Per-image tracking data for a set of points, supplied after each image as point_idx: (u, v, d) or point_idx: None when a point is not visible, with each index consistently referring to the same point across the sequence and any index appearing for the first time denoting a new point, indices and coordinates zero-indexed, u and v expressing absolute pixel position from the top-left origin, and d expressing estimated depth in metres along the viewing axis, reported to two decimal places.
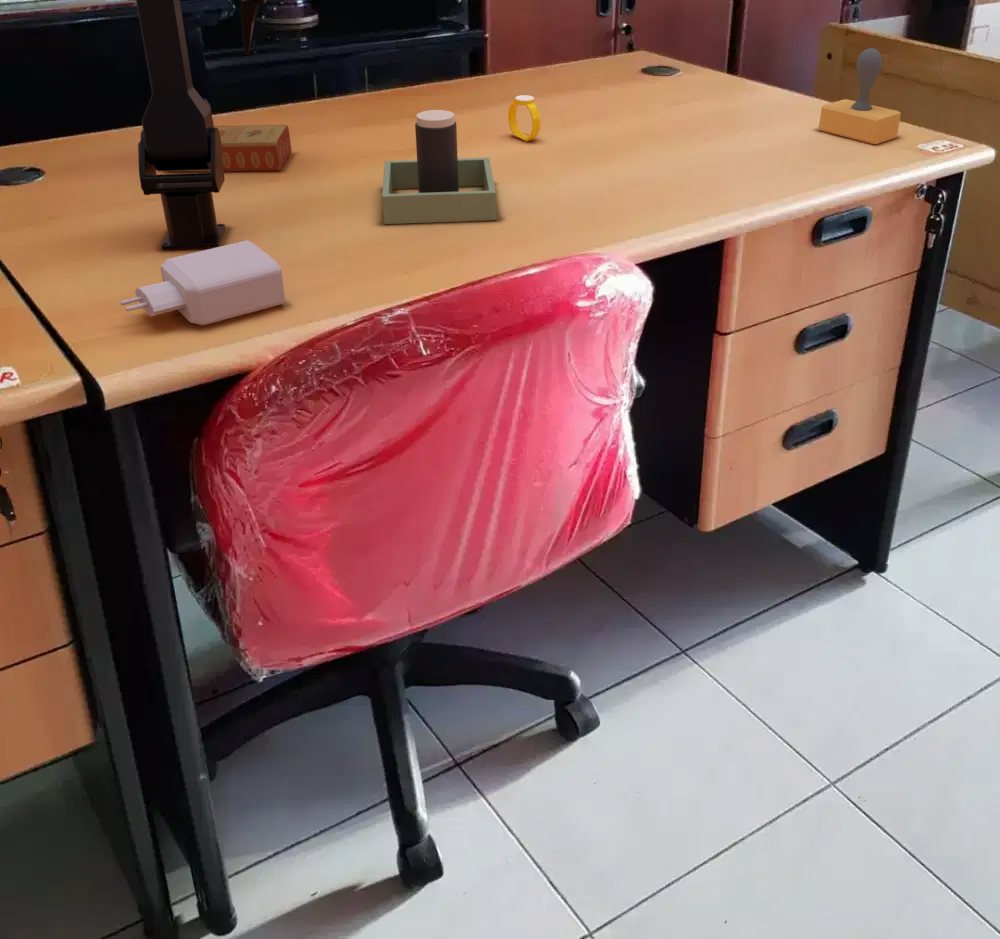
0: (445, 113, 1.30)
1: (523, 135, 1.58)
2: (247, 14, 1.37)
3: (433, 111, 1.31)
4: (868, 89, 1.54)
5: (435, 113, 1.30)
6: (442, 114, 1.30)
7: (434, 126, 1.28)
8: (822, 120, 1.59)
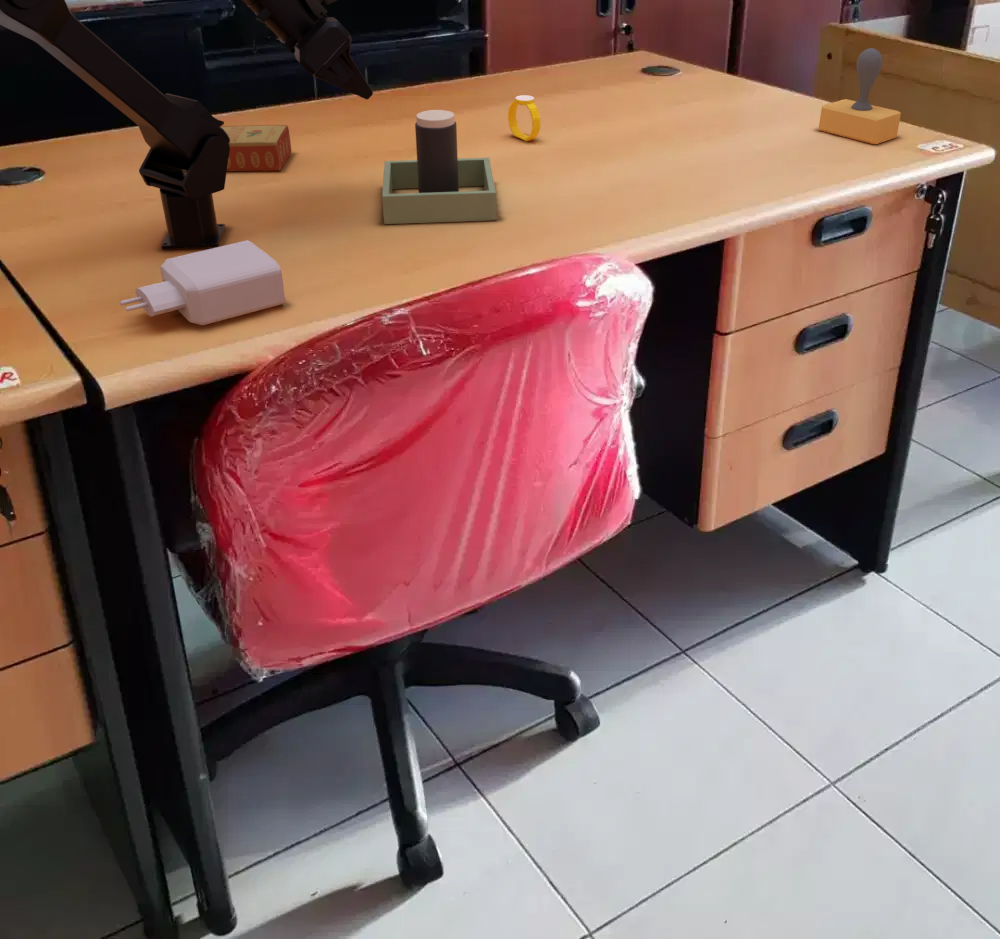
0: (445, 113, 1.30)
1: (523, 135, 1.58)
2: None
3: (433, 111, 1.31)
4: (868, 89, 1.54)
5: (435, 113, 1.30)
6: (442, 114, 1.30)
7: (434, 126, 1.28)
8: (822, 120, 1.59)
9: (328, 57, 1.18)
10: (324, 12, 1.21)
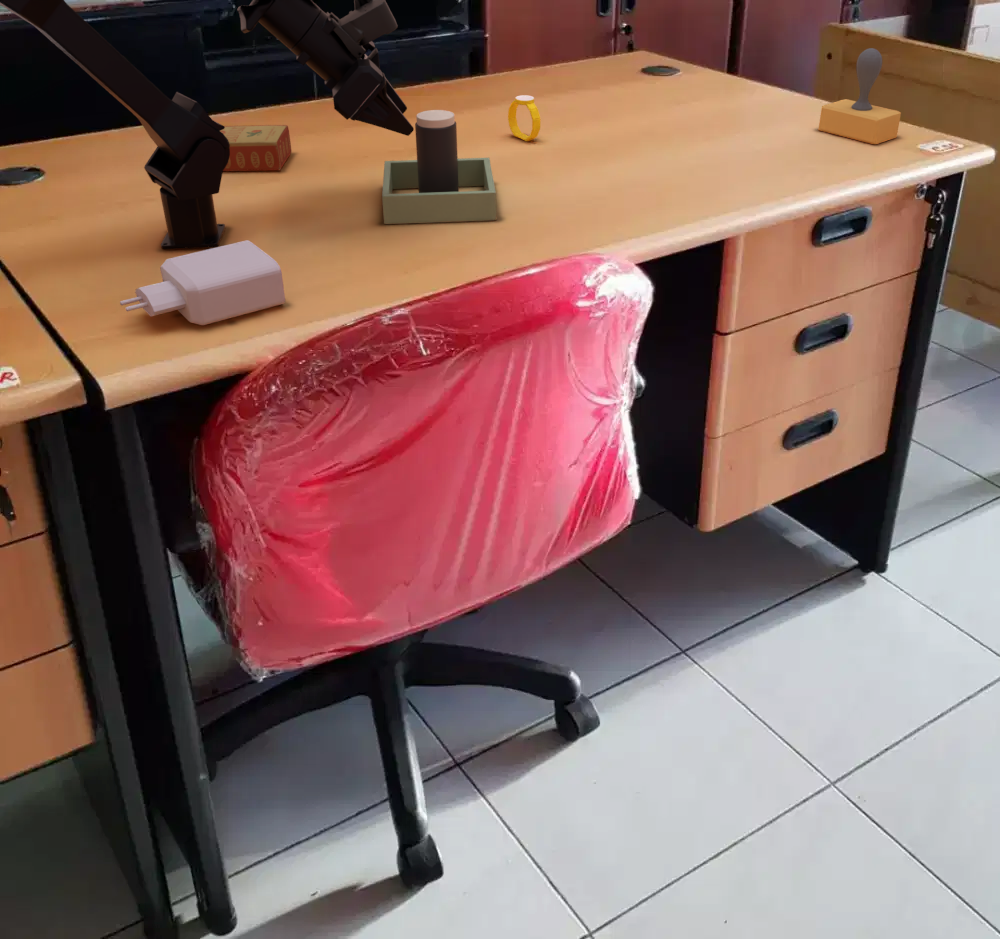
0: (445, 113, 1.30)
1: (523, 135, 1.58)
2: None
3: (433, 111, 1.31)
4: (868, 89, 1.54)
5: (435, 113, 1.30)
6: (442, 114, 1.30)
7: (434, 126, 1.28)
8: (822, 120, 1.59)
9: (361, 101, 1.19)
10: (362, 52, 1.22)
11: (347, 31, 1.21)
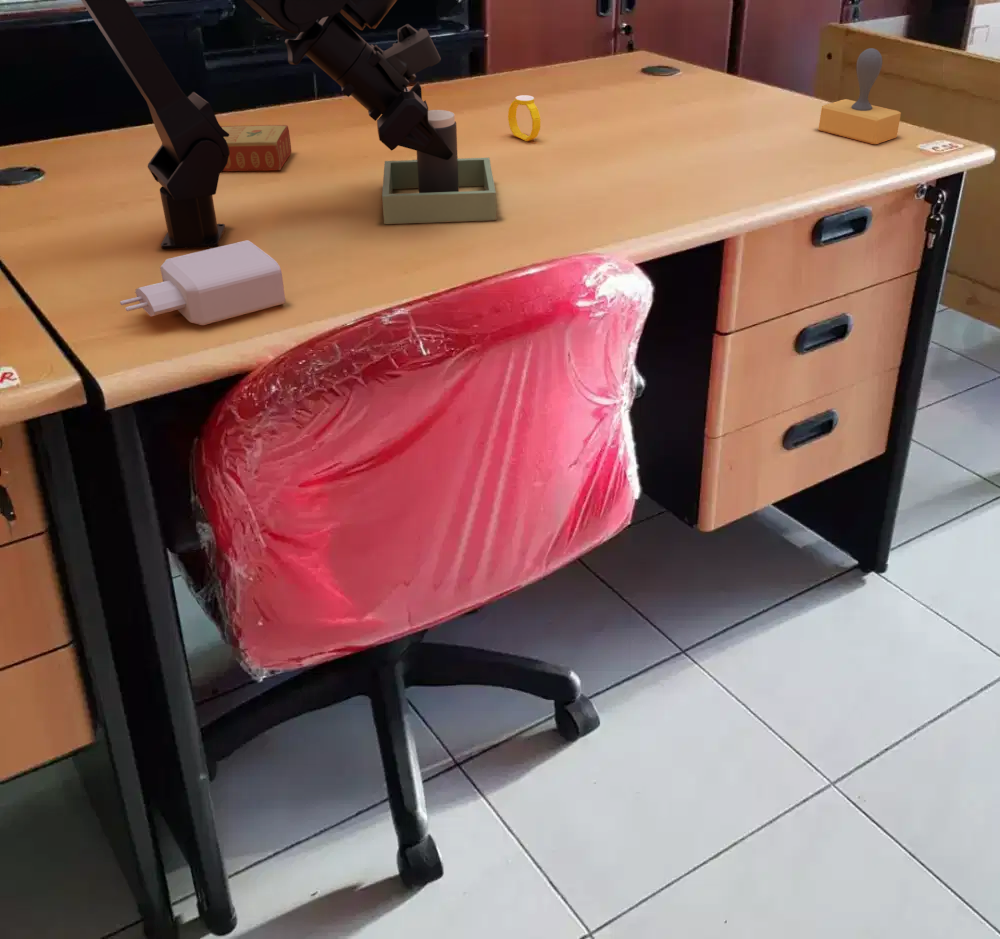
0: (445, 113, 1.30)
1: (523, 135, 1.58)
2: None
3: (433, 111, 1.31)
4: (868, 89, 1.54)
5: (435, 113, 1.30)
6: (442, 114, 1.30)
7: (434, 126, 1.28)
8: (822, 120, 1.59)
9: (406, 133, 1.21)
10: (406, 84, 1.24)
11: (392, 64, 1.24)
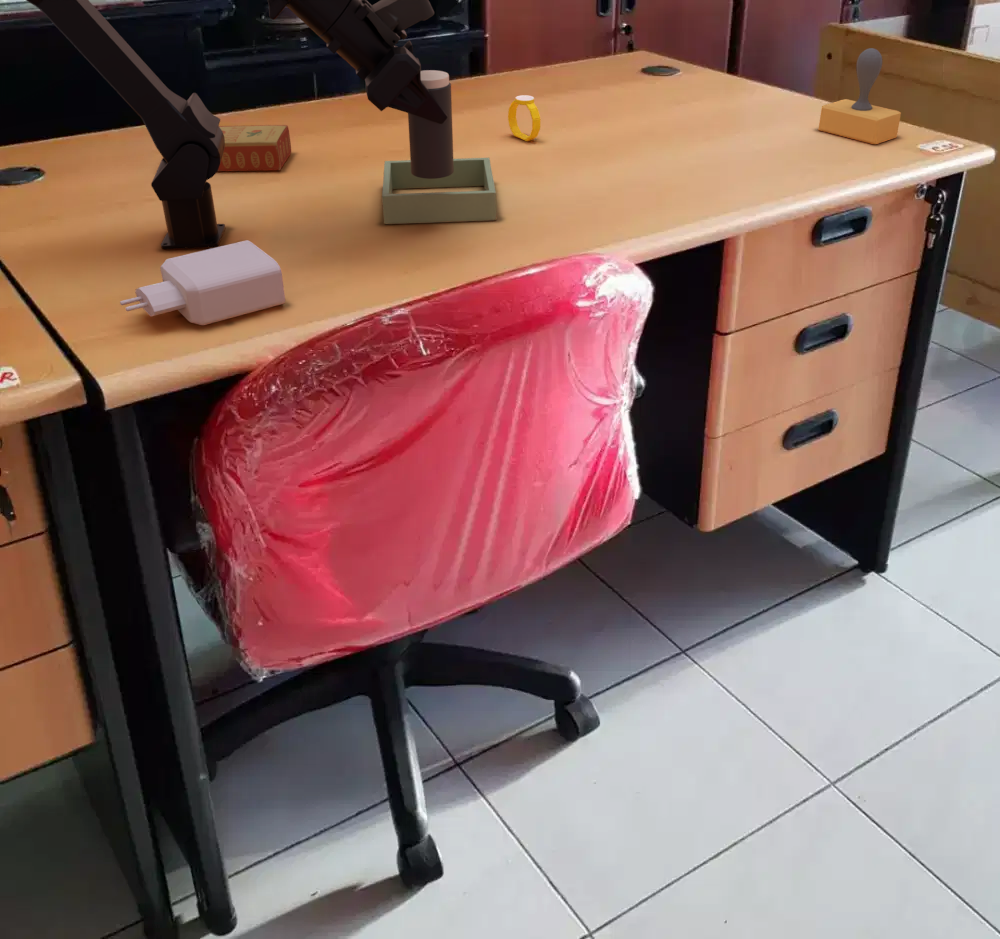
0: (439, 73, 1.21)
1: (523, 135, 1.58)
2: None
3: (426, 71, 1.21)
4: (868, 89, 1.54)
5: (428, 74, 1.20)
6: (435, 75, 1.20)
7: (427, 87, 1.19)
8: (822, 120, 1.59)
9: (397, 92, 1.11)
10: (397, 40, 1.15)
11: (381, 17, 1.14)
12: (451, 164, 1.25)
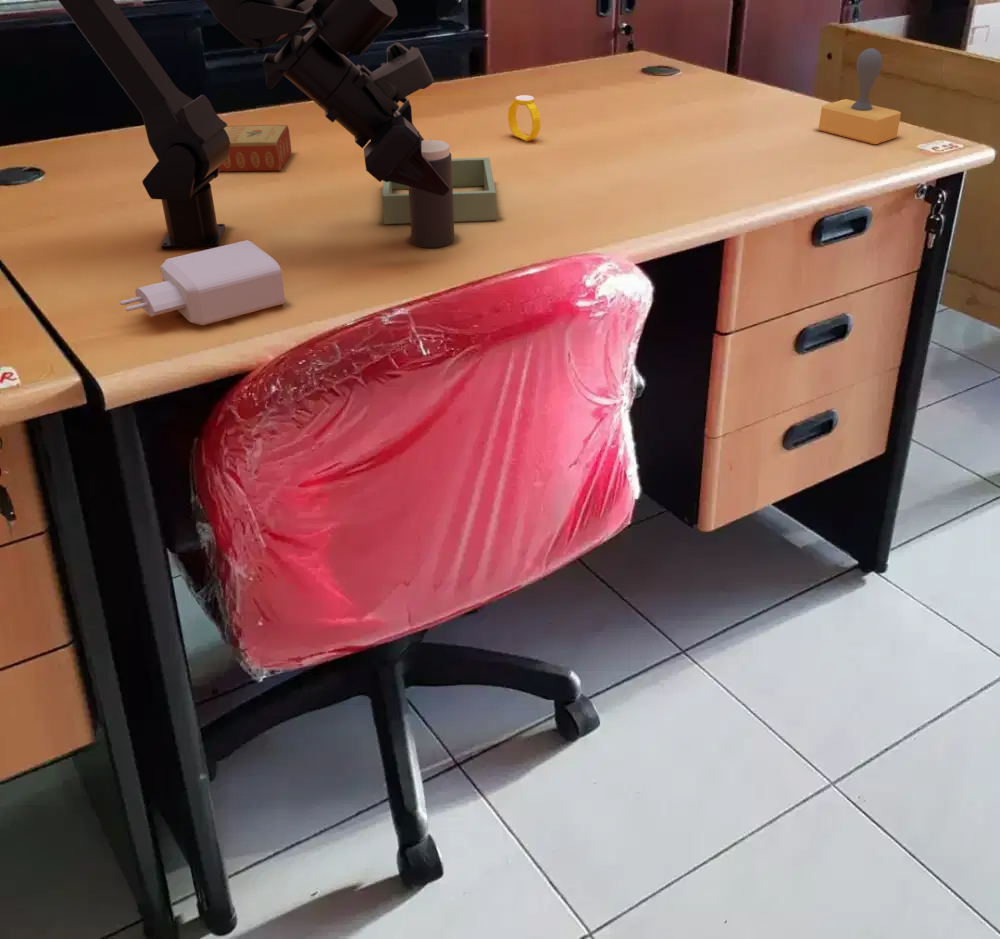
0: (439, 144, 1.20)
1: (523, 135, 1.58)
2: None
3: (426, 141, 1.21)
4: (868, 89, 1.54)
5: (428, 144, 1.20)
6: (435, 145, 1.19)
7: (427, 158, 1.18)
8: (822, 120, 1.59)
9: (396, 163, 1.10)
10: (396, 108, 1.14)
11: (380, 86, 1.13)
12: (452, 233, 1.24)
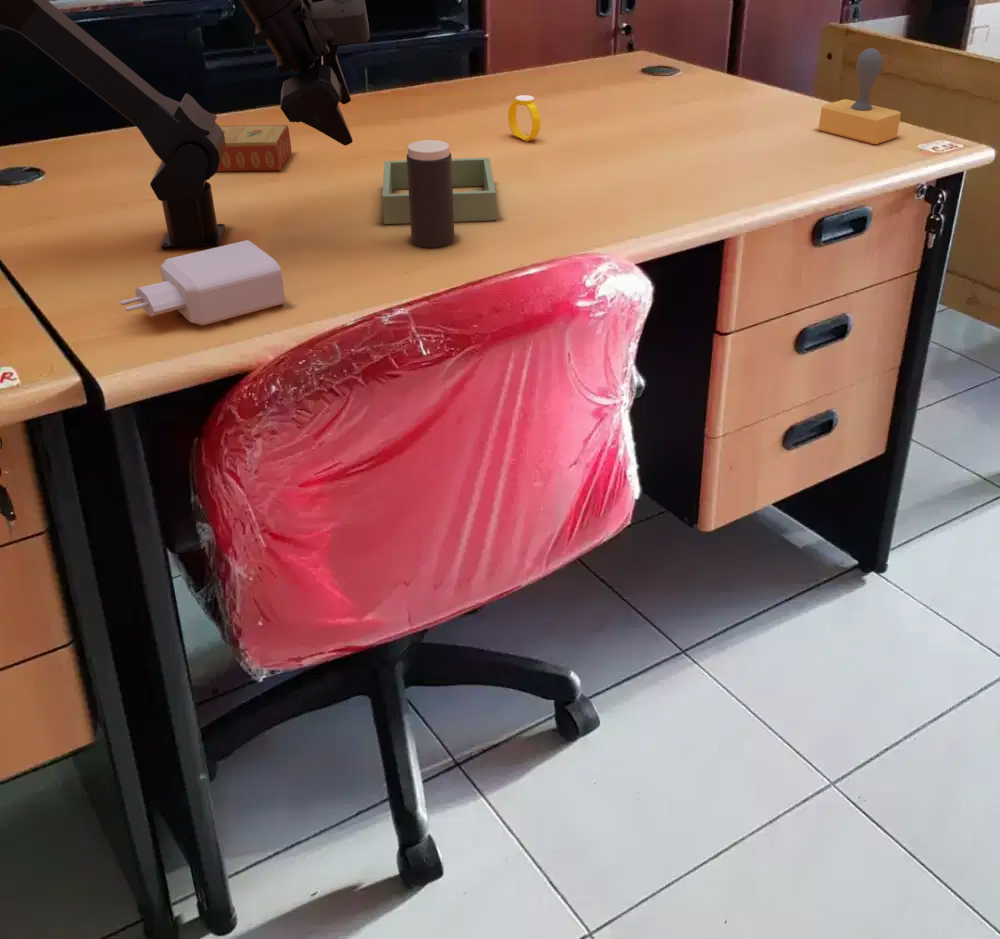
0: (439, 144, 1.20)
1: (523, 135, 1.58)
2: None
3: (426, 141, 1.21)
4: (868, 89, 1.54)
5: (428, 144, 1.20)
6: (435, 145, 1.19)
7: (427, 158, 1.18)
8: (822, 120, 1.59)
9: (310, 112, 1.14)
10: (325, 52, 1.16)
11: (317, 26, 1.14)
12: (452, 233, 1.24)
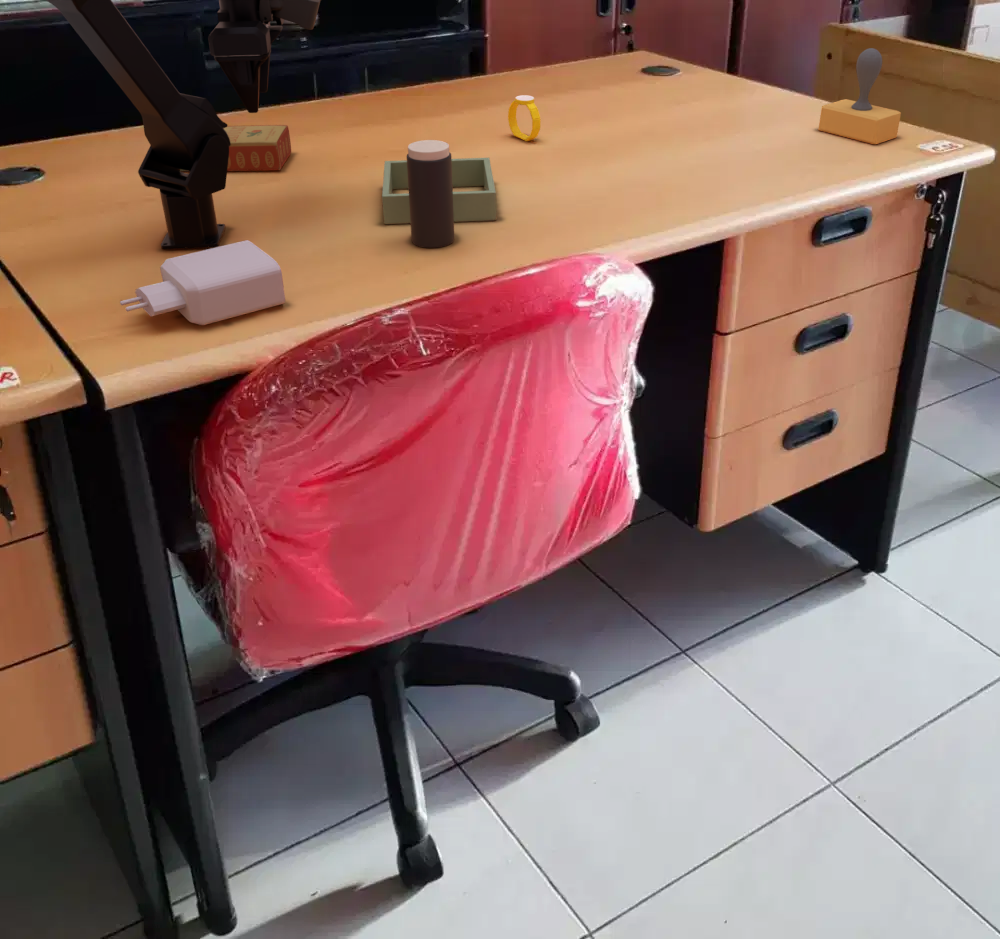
0: (439, 144, 1.20)
1: (523, 135, 1.58)
2: None
3: (426, 141, 1.21)
4: (868, 89, 1.54)
5: (428, 144, 1.20)
6: (435, 145, 1.19)
7: (427, 158, 1.18)
8: (822, 120, 1.59)
9: (234, 54, 1.16)
10: (268, 19, 1.20)
11: None
12: (452, 233, 1.24)
